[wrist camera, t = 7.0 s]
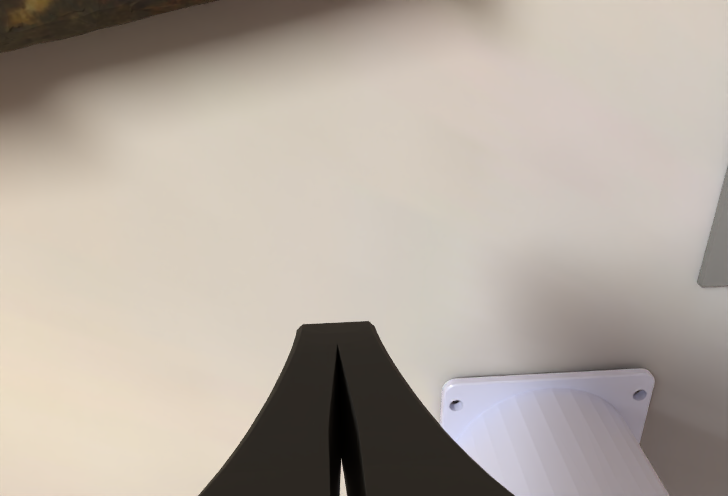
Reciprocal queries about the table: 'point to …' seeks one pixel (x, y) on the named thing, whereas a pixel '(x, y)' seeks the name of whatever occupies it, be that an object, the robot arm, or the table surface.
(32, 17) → the hand tool
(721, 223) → the mat
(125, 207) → the table surface
